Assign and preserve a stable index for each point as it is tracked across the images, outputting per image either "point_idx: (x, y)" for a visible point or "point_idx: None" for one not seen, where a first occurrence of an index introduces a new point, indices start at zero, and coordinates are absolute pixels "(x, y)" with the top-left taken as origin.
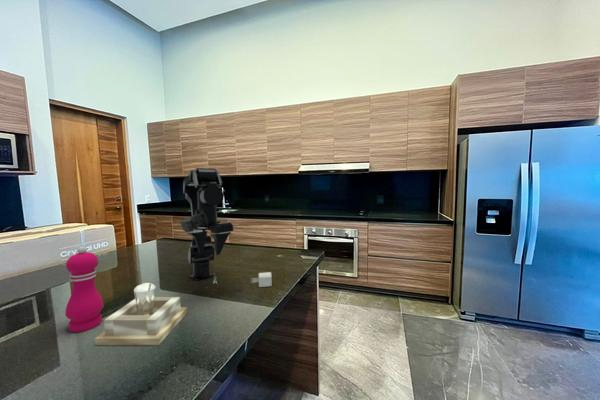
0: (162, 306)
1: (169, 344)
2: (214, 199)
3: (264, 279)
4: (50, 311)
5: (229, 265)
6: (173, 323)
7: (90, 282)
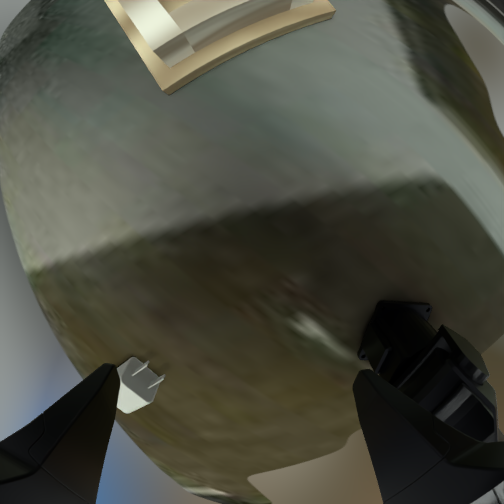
0: None
1: (88, 15)
2: None
3: None
4: (484, 7)
5: None
6: (123, 28)
7: None
